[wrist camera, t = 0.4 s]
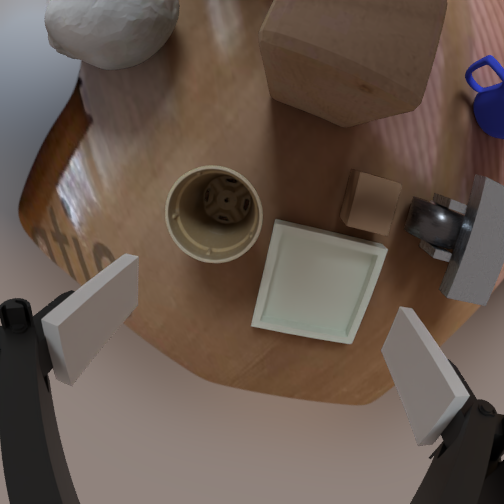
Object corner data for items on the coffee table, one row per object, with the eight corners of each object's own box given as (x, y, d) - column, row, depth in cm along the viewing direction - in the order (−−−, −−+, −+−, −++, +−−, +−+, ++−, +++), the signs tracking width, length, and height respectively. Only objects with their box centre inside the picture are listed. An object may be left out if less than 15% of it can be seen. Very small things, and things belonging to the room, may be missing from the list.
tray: (275, 218, 36) (274, 223, 34) (382, 243, 36) (387, 249, 34) (252, 317, 41) (251, 326, 39) (348, 335, 41) (351, 344, 39)
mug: (462, 53, 26) (504, 36, 17) (513, 116, 27) (558, 117, 18) (437, 88, 29) (480, 76, 19) (492, 153, 30) (538, 161, 21)
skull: (99, -12, 27) (48, -49, 13) (205, 7, 30) (185, -47, 16) (61, 61, 31) (-4, 48, 17) (163, 88, 34) (118, 69, 20)
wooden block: (348, 131, 32) (423, 116, 13) (267, 98, 32) (250, 41, 13) (374, 61, 29) (454, -5, 10) (296, 29, 28) (307, -71, 10)
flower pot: (273, 231, 37) (270, 256, 29) (199, 243, 38) (178, 269, 30) (259, 154, 34) (252, 156, 26) (182, 170, 35) (154, 178, 27)
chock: (351, 168, 34) (360, 171, 29) (388, 179, 34) (402, 184, 29) (339, 216, 36) (346, 225, 32) (376, 225, 36) (387, 236, 31)
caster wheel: (413, 154, 32) (448, 159, 24) (484, 185, 32) (523, 197, 24) (384, 260, 37) (408, 289, 29) (455, 277, 37) (485, 305, 28)
